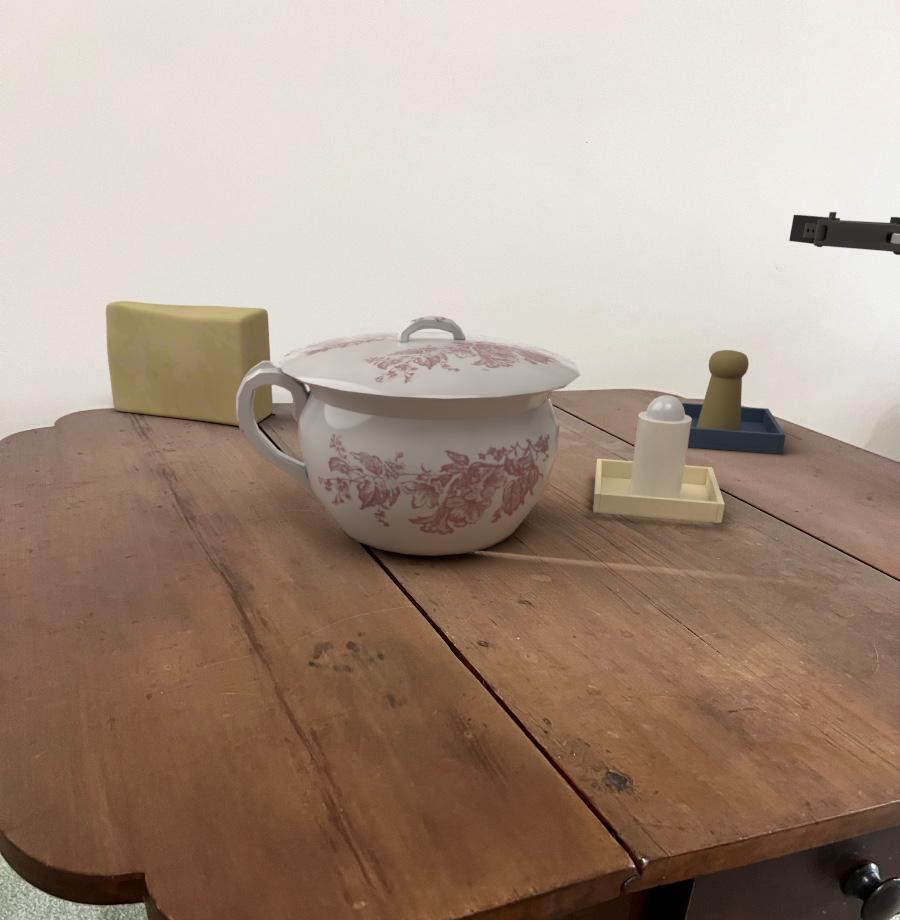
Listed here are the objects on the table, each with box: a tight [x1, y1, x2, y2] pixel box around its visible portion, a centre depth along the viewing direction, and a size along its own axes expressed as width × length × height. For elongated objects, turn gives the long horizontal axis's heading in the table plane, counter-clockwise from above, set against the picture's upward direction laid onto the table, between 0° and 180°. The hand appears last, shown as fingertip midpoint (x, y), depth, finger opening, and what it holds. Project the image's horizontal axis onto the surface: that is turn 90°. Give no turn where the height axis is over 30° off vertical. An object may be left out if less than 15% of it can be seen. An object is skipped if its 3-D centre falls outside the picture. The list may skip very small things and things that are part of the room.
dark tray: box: [681, 402, 787, 455], centre depth 128 cm, size 15×15×3 cm
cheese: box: [105, 300, 274, 427], centre depth 126 cm, size 22×10×15 cm, turn 80°
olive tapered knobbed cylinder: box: [696, 349, 749, 431], centre depth 126 cm, size 6×6×11 cm
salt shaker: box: [629, 394, 692, 499], centre depth 99 cm, size 6×6×11 cm
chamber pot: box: [236, 315, 581, 557], centre depth 87 cm, size 28×28×21 cm
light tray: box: [592, 458, 726, 524], centre depth 101 cm, size 13×13×3 cm
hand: (843, 228), depth 104 cm, fingers open, 13 cm apart
